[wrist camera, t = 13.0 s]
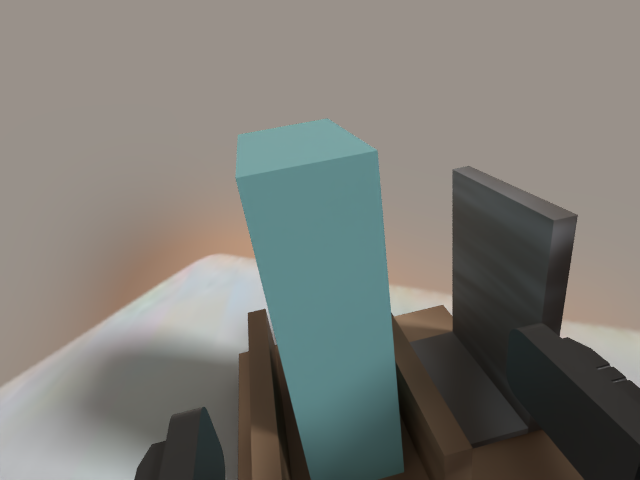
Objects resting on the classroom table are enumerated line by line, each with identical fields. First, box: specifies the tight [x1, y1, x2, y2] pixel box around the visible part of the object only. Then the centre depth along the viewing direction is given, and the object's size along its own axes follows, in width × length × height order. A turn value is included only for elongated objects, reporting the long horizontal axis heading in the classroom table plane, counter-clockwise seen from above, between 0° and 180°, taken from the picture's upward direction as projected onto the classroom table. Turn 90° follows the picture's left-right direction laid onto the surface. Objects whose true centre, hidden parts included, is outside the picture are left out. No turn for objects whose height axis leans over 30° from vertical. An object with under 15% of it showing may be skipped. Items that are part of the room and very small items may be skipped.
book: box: [236, 119, 404, 480], centre depth 19 cm, size 4×8×16 cm, turn 11°
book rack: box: [238, 166, 584, 480], centre depth 21 cm, size 16×15×14 cm
